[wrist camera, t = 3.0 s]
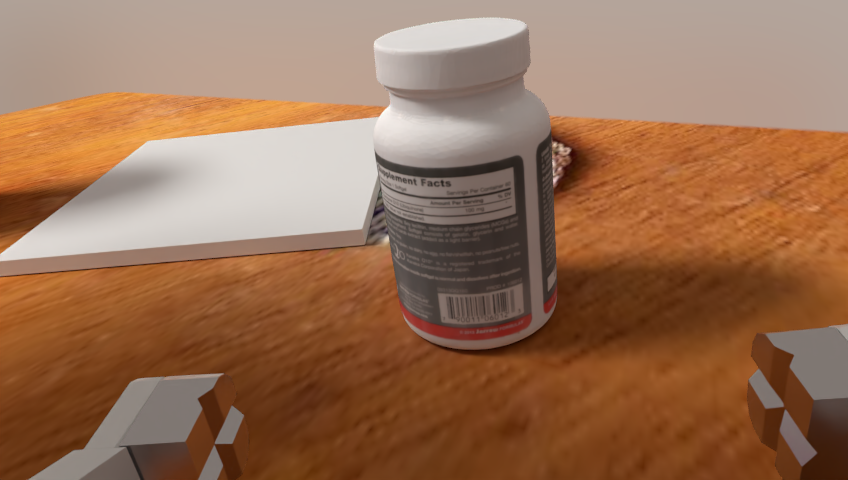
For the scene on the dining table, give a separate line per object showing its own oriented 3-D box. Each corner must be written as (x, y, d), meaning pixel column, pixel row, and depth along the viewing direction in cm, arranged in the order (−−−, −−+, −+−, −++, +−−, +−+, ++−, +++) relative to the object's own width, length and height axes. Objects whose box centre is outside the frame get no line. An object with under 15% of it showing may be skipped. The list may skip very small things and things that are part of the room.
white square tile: (-4, 276, 32) (-11, 262, 31) (151, 151, 48) (147, 141, 47) (364, 244, 30) (362, 229, 30) (396, 126, 46) (395, 115, 46)
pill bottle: (469, 257, 28) (445, 12, 23) (588, 296, 24) (586, 13, 20) (369, 322, 24) (319, 48, 20) (491, 379, 21) (461, 58, 16)
